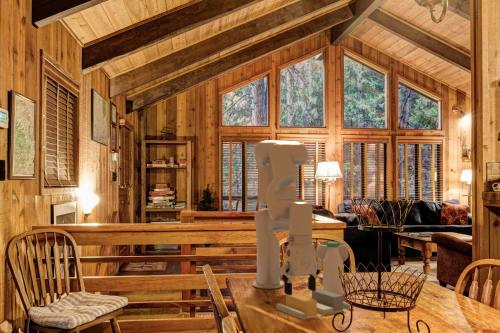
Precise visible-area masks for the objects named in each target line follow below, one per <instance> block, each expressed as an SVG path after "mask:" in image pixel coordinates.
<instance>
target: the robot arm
mask: <svg viewBox="0 0 500 333" xmlns="http://www.w3.org/2000/svg"><path fill="white" fill-rule="evenodd" d="M253 154H254V159H255V163H256V167H257V170H258V185H257V186H258V190H257V191H258V192H257V193H258V194H257V196H258V202H259V203H260V205H264V206H266V208H261V209H258V210H257V211H256V212H255V213H254V218H253V219H254V220H253V221H254V224H255V225H254V227H255V231H256V233H255V235H256V273H255V274H253V277H254V278H255V279H256V280H255V281H253V283H252V285H253V287H254V288H255V287H256V288H258V289H267V290H270V289H271V290H272V289H279V288H283V287H284V288H283V289H284V291H283V292H284V295H292V294H293V283H292V281H293V278H298V277H306V276H308V279H307V280H308V281H307V289H308V291H309V290H310V291H311V292H312V291H316V290H317V287H316V286H317V279H318V278H319V274H320V273H321V269H322V268H323V264H322V263H321V262H319V261H317V259H318V258H317V253H316V252H317V249H316V246H315V243H313V204H312V203H311V202H309V201H307V200H305V199H301V198H299V199H298V191H297V187H296V185H294V183H295V182H296V181H297V180H298V173H297V172H298V171H297V169H296V166H303V165H305V164H306V163H307V161H308V157H309V156H308V148H307V147H306V145H305V144H304V143H302V142H299V141H293V140H292V141H291V140H262V141H258V142H256V144H255V146H254V151H253ZM276 232H278V233H279V232H288V237H286V241H287V243H288V244H287V246H286V251H285V258H284V260H285V261H284V264H283V265H282V266H281V244H280V240H279V238H278V237H277V235H275V233H276Z"/></svg>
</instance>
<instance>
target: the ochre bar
mask: <svg viewBox="0 0 500 333" xmlns="http://www.w3.org/2000/svg"><path fill="white" fill-rule="evenodd" d="M285 305H286V306H288V307H291V308H294V309H296V310H299V311H302V312H304V313H306V314H307V316H312V315H317V300H315V299H312V297H309V296H305V295H302V294H299V293H296V292H294V293H293V292H292V295H287V294H285Z"/></svg>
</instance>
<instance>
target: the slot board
mask: <svg viewBox="0 0 500 333" xmlns="http://www.w3.org/2000/svg"><path fill="white" fill-rule="evenodd" d="M346 302H347V301H344V300H343V310H338V311H334V309H333V308H332V307H329V306H326V305H323V304H320V303H317V315H312V316H307V314H306V313H304V312H302V311H299V310H296V309H294V308H291V307H288V306H286V304H282V303H281V302H280V303H276V304H275V310H277V311H281V312H283V313H286V314H288V315H290V316H293V317H295V318H298V319H300V320H303V321H304V320H308V319H311V318H318V317H323V316H326V315H331V314H337V313H341V312H347V311H351V310H350V305H349V304H347V303H348V302H347V303H346Z"/></svg>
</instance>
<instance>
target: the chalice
mask: <svg viewBox="0 0 500 333" xmlns="http://www.w3.org/2000/svg"><path fill="white" fill-rule="evenodd" d="M327 242H328V241H327ZM327 242H326V241H325V242H320V243H318V245H317V247H316V258H317V259H318V260H319V261H321V262H322V263H323V262H324V259H325V256H326V254H327ZM338 243H339V254H340V257H341V259H342V262H343V263H344V262H345V261H347V259H348V258H349V249H348V247H347V245H346V243H343V242H338ZM318 278H320V279H322V280H323V274H320V275H318Z"/></svg>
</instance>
